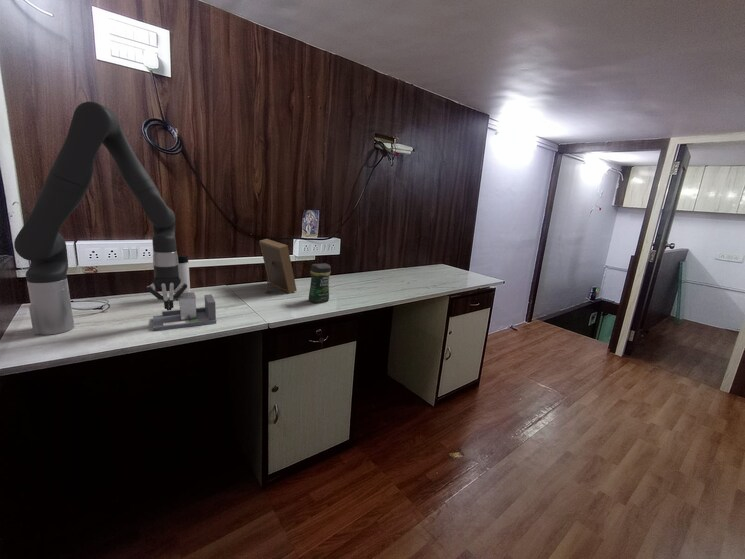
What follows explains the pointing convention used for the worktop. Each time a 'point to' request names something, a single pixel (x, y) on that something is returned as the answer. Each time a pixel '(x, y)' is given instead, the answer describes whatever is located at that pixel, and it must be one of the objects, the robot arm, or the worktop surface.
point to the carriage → (187, 306)
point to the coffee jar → (319, 282)
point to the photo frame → (278, 265)
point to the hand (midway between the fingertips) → (169, 309)
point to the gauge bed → (174, 320)
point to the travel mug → (183, 273)
